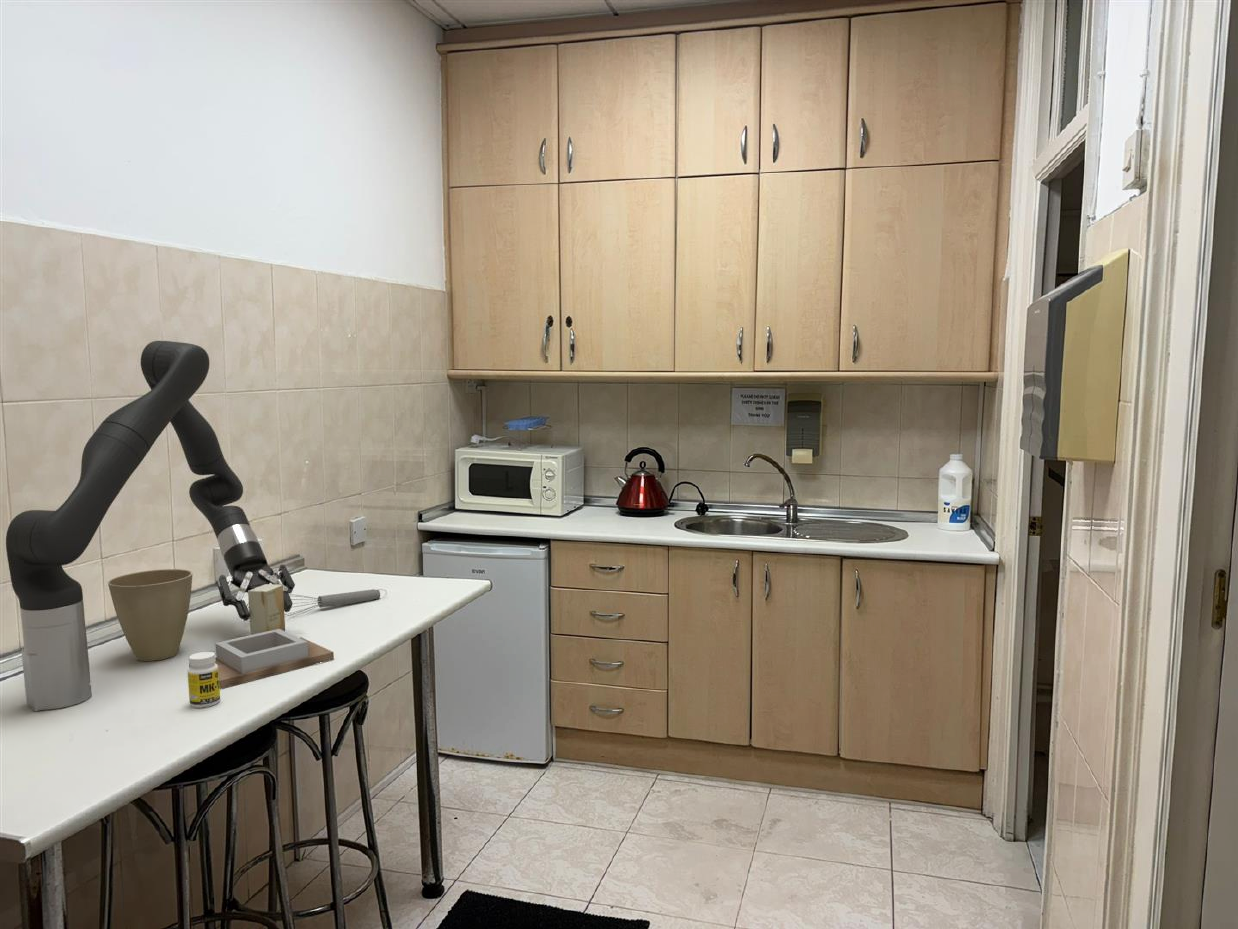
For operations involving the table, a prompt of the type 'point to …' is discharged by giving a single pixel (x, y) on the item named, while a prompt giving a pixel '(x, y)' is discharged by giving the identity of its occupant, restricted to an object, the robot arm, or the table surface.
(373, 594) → the kitchen whisk
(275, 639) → the collar
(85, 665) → the robot arm
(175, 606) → the plant pot
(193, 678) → the supplement bottle
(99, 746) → the table surface
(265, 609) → the skincare box
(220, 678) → the board
